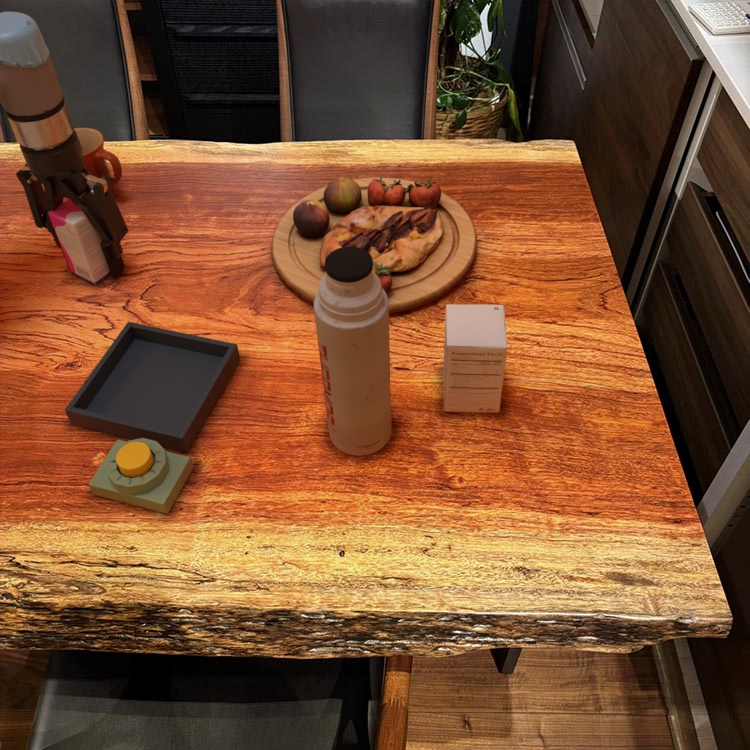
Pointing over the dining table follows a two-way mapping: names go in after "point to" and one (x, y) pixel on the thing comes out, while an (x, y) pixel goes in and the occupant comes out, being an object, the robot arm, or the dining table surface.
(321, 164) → the dining table surface
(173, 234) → the dining table surface
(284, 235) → the wooden plate
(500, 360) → the white packaging box
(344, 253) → the thermos bottle
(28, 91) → the robot arm
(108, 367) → the tray
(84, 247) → the supplement box
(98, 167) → the mug
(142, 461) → the button
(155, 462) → the control block
